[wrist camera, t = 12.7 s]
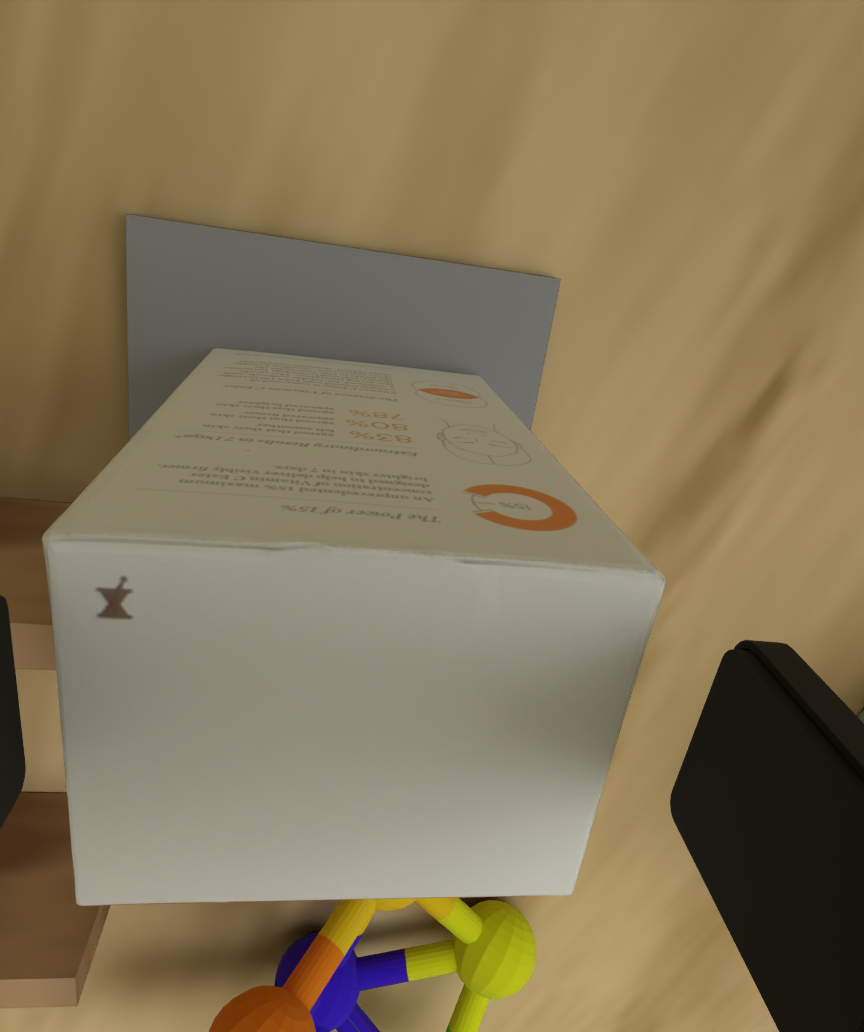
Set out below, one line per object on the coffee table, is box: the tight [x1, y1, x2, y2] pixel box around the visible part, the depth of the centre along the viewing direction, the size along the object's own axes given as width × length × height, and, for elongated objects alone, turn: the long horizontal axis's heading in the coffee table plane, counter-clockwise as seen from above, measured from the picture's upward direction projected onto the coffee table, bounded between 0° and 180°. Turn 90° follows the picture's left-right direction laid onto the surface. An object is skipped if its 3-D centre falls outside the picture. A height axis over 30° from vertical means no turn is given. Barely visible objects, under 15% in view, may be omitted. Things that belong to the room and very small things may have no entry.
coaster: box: [126, 214, 561, 441], centre depth 22 cm, size 12×12×1 cm
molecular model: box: [209, 898, 536, 1032], centre depth 27 cm, size 15×10×15 cm
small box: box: [42, 348, 666, 906], centre depth 16 cm, size 8×6×13 cm
